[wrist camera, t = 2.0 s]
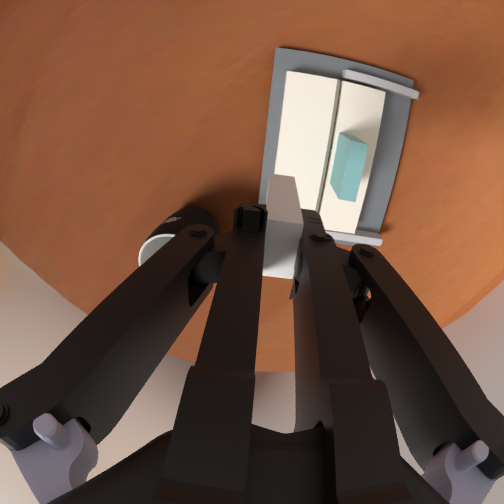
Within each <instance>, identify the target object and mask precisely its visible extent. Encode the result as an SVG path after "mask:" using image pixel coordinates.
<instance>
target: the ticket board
mask: <svg viewBox="0 0 504 504" xmlns="http://www.w3.org/2000/svg"><path fill="white" fill-rule="evenodd" d="M340 81H346V82H350V83H354V84H358V85H362V86H366V87H370V88H373V89H377V90H380V91H384V92H386V93H385V100H384V106H383V112H382V118H381V123H380V129H379V134H378V139H377V144H376V149H375V154H374V159H373V163H372V168H371V172H370V176H369V181H368V185H367V189H366V193H365V197H364V201H363V205H362V208H361V212H360V216H359V219H358V223H357V227H356V230H355V234H352V233H346V232H339V231H332V230H325V232H326V233H328V234H329V235H331V236H332V237H333V239H334V241H335V243H337V244H345V245H352V246H353V245H355V244H368V245H371V246H372V247H374V246H375V245H377V246H381V243H382V241H383V239H382V238H381V236H380V234H379V231H380V228H381V225H382V222H383V219H384V215H385V212H386V209H387V205H388V202H389V198H390V194H391V191H392V187H393V183H394V180H395V176H396V172H397V168H398V163H399V159H400V155H401V150H402V146H403V141H404V136H405V131H406V126H407V121H408V115H409V110H410V104H411V99H418V94H419V92H418V91H416V90H413V83H414V80H411V79H409V78H406V77H403V76H400V75H397V74H394V73H391V72H388V71H385V70H382V69H379V68H375V67H372V66H369V65H365V64H361V63H357V62H354V61H350V60H345V59H341V58H337V57H332V56H327V55H322V54H317V53H311V52H305V51H299V50H292V49H284V48H276V49H275V58H274V67H273V76H272V85H271V94H270V103H269V112H268V121H267V130H266V139H265V148H264V157H263V166H262V175H261V183H260V192H259V201H258V204H265V205H266V198H267V190H268V182H269V174H278V175H286V176H293V177H295V182H296V187H297V192H298V197H299V202H300V207H301V208H302V209H309V210H315V211H316V212H317V213H318V209H319V204H320V199H321V194H322V189H323V184H324V179H325V173H326V168H327V163H328V157H329V151H330V146H331V140H332V134H333V128H334V122H335V115H336V109H337V102H338V95H339V88H340Z"/></svg>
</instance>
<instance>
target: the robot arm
mask: <svg viewBox="0 0 504 504" xmlns="http://www.w3.org/2000/svg"><path fill="white" fill-rule="evenodd" d="M293 273H295V277H294V281H293V285H292V290H291V294H290V298H289V299H292V297H293V309H294V336H295V380H296V423H295V429H294V433H288V434H284V433H280V432H276V431H272V430H269V429H266V428H263V427H260V426H257V425H254V424H251V421H252V409H253V399H254V388H255V375H254V371H255V359H256V347H257V336H258V324H259V312H260V299H261V287H262V275H263V276H271V277H279V278H288V279H292V278H293ZM213 283H217V286H216V290H215V293H214V297H213V300H212V304H211V308H210V311H209V315H208V319H207V322H206V326H205V330H204V334H203V337H202V341H201V345H200V349H199V352H198V356H197V360H196V363H195V365H194V366H191V367H190V369H189V371H188V374H187V377H186V381H185V385H184V388H183V392H182V396H181V400H180V404H179V407H178V411H177V415H176V419H175V423H174V427H173V430H170V431H168V432H166V433H164V434H162V435H160V436H158V437H156V438H155V439H153V440H152V441H150V442H149V443H147V444H146V445H145V446H143V447H142V448H140V449H138V450H137V451H136V452H134V453H132V454H131V455H129V456H128V457H126V458H125V459H123V460H122V461H120V462H119V463H117V464H115V465H114V466H112V467H111V468H109V469H107V470H106V471H104V472H102V473H101V474H99V475H97V476H96V477H94V478H92V479H90V480H89V481H87V482H86V478H87V476H88V473H89V472H90V471H91V470H92V469H93V468H94V467H95V466H96V464H97V460H98V449H97V444H99V443H100V442H101V441H102V440H103V439H104V438H105V437H106V436H107V435H108V434H109V433H110V432H111V431H112V429H113V428H114V427H115V426H116V424H117V423H118V422H119V421H120V419H121V418H122V416H123V415H124V413H125V412H126V411H127V409H128V408H129V406H130V405H131V403H132V402H133V400H134V399H135V397H136V396H137V394H138V393H139V392H140V390H141V389H142V387H143V386H144V385H145V383H146V382H147V380H148V379H149V377H150V376H151V374H152V373H153V372H154V370H155V368H156V367H157V366H158V364H159V363H160V362H161V360H162V359H163V357H164V356H165V354H166V353H167V352H168V350H169V349H170V347H171V346H172V345H173V343H174V342H175V340H176V339H177V337H178V336H179V335H180V333H181V332H182V330H183V329H184V327H185V326H186V325H187V323H188V322H189V320H190V319H191V318H192V316H193V315H194V313H195V312H196V311H197V309H198V308H199V306H200V305H201V304H202V302H203V301H204V299H205V298H206V297H207V295H208V294H209V292H210V291H211V290H212V288H213ZM369 290H370V292H371V299H369V298H368V296H367V293H368V291H369ZM369 365H370V366H369ZM370 367H371V369H372V371H373V373H374V375H375V377H376V379H377V380H375V379H373V377H372V374H371V371H370ZM393 415H394V417H395V420H396V422H397V424H398V426H399V428H400V431H401V433H402V435H403V437H404V440H405V442H406V444H407V446H408V447H409V450H410V452H411V454H412V455H413V457H414V458H415V460H416V462H417V463H418V464H419V466H420V467H421V468H422V469H423V471H424V474H423V475H421V476H420V475H419V474H418V473H417V472H416V471H415V470H414V469H413V468H412V467H411V466H410V465H409V464H408V463H407V462H406V461H405V460H404V459H403V458H402V457H401V456H400V452H399V446H398V439H397V434H396V428H395V423H394V418H393ZM0 442H1V443H2V444H3V445H5V446H6V447H7V448H8V449H9V450H10V451H11V453H12V454H13V457H14V459H15V461H16V463H17V465H18V467H19V469H20V471H21V473H22V474H23V476H24V478H25V480H26V482H27V483H28V485H29V487H30V489H31V490H32V492H33V493H34V495H35V497H36V498H37V500H38V502H39V503H40V504H482V502H483V500H484V499H485V497H486V496H487V494H488V493H489V491H490V489H491V488H492V486H493V484H494V482H495V481H496V480H497V479H498V478H500V477H502V476H503V475H504V416H503V415H502V414H501V413H500V412H499V411H498V410H497V409H496V408H495V407H494V406H493V405H492V403H491V402H489V400H488V399H487V398H486V396H485V394H484V393H483V391H482V389H481V388H480V386H479V384H478V383H477V381H476V380H475V378H474V376H473V375H472V373H471V371H470V370H469V368H468V367H467V365H466V364H465V362H464V361H463V359H462V358H461V356H460V355H459V353H458V352H457V350H456V349H455V347H454V346H453V345H452V343H451V342H450V340H449V339H448V337H447V336H446V335H445V333H444V332H443V330H442V329H441V328H440V326H439V325H438V323H437V322H436V321H435V319H434V318H433V317H432V315H431V314H430V313H429V311H428V310H427V309H426V308H425V306H424V305H423V304H422V302H421V301H420V300H419V299H418V297H417V296H416V295H415V294H414V292H413V291H412V290H411V289H410V287H409V286H408V285H407V284H406V282H405V281H404V280H403V279H402V278H401V276H400V275H399V274H398V273H397V272H396V270H395V269H394V268H393V267H392V266H391V265H390V263H389V262H388V261H387V260H386V259H385V258H384V256H383V255H382V254H381V253H380V252H379V251H378V250H377V249H375V248H374V247H372V246H371V245H368V244H355V245H353V246H352V249H351V251H348V250H345V249H342V248H339V247H337V246H336V244H335V241H334V239H333V237H332V236H331V235H329V234H328V233H326V232H325V229H324V225H323V222H322V219H321V216H320V214H318V213H317V212H316V211H315V210H309V209H302V208H301V207H300V202H299V197H298V192H297V187H296V182H295V177H293V176H286V175H278V174H269V182H268V190H267V198H266V205H265V204H257V203H249V202H247V203H246V204H241V205H238V206H237V207H236V208H235V213H234V227H233V230H232V232H230V233H226V234H220V235H215V232H214V229H213V228H211V227H210V226H207V225H202V224H193V225H189V226H187V227H185V228H183V229H182V230H181V231H180V232H179V233H177V234H176V235H175V236H174V237H173V238H171V239H170V240H169V241H168V242H167V243H166V244H165V245H163V246H162V247H161V248H160V249H159V250H158V251H157V252H155V253H154V254H153V255H152V256H151V257H150V258H149V259H147V260H146V261H145V262H144V263H143V264H142V265H141V266H140V267H139V268H137V269H136V270H135V271H134V272H133V273H132V274H131V275H130V276H129V277H128V278H127V279H125V280H124V281H123V282H122V283H121V284H120V285H119V286H118V287H117V288H116V289H115V290H114V291H113V292H112V293H111V294H109V295H108V296H107V297H106V298H105V299H104V300H103V301H102V302H101V303H100V304H99V305H98V306H97V307H96V308H95V309H94V310H93V311H92V312H91V313H90V314H89V315H88V316H87V317H86V318H85V319H84V320H83V321H82V322H81V323H80V324H79V325H78V326H77V327H76V328H75V329H74V330H73V331H72V332H71V333H70V334H69V335H68V336H67V337H66V338H65V339H64V340H63V341H62V342H61V343H60V344H59V346H57V348H56V349H55V350H54V351H53V352H52V353H51V354H50V355H49V356H48V357H47V358H46V359H45V360H44V362H43V363H42V364H40V365H38V366H36V367H35V368H33V369H31V370H30V371H28V372H26V373H25V374H23V375H21V376H20V377H18V378H16V379H15V380H13V381H11V382H10V383H8V384H6V385H5V386H3V387H1V388H0Z"/></svg>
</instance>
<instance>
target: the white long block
mask: <svg viewBox="0 0 504 504" xmlns="http://www.w3.org/2000/svg"><path fill="white" fill-rule="evenodd" d="M385 93H386V92H384V91H380V90H377V89H373V88H370V87H366V86H362V85H358V84H354V83H350V82H346V81H340V88H339V95H338V102H337V109H336V115H335V122H334V128H333V134H332V140H331V146H330V151H329V157H328V163H327V168H326V173H325V179H324V184H323V189H322V194H321V199H320V204H319V209H318V214H320V216H321V219H322V222H323V225H324V229H325V230H332V231H339V232H346V233H352V234H355V230H356V227H357V223H358V219H359V216H360V212H361V208H362V205H363V201H364V197H365V193H366V189H367V185H368V181H369V176H370V172H371V168H372V163H373V159H374V154H375V149H376V144H377V139H378V134H379V129H380V123H381V118H382V112H383V106H384V100H385Z"/></svg>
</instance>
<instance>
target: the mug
mask: <svg viewBox="0 0 504 504" xmlns="http://www.w3.org/2000/svg"><path fill="white" fill-rule="evenodd" d="M193 224H202V225H207V226H210V227H211V228H213V229H214V232H215V235H219V229H218V225H217V223H216V221H215V219H214V218H213V217H212V216H211V215H210V214H209V213H208V212H207V211H205V210H203V209H200V208H195V207H189V208H184V209H181V210H179V211H177V212H175V213H174V214H172V215H171V216H169V217H168V218H167V219H166V220H165V221H163V222H162V223H161V224H160V225H159V226H158V227H157V228H156V229H155V230H154V231H153V232H152V233H151V235H150V236H149V237H148V238H147V239H146V241H145V242H144V244H143V245H142V247H141V249H140V252H139V266H141V265H142V264H143V263H144V262H145V261H146V260H147V259H149V258H150V257H151V256H152V255H153V254H154V253H155V252H157V251H158V250H159V249H160V248H161V247H162V246H163V245H165V244H166V243H167V242H168V241H169V240H170V239H171V238H173V237H174V236H175V235H176V234H177V233H179V232H180V231H181V230H182V229H183V228H185V227H187V226H189V225H193Z"/></svg>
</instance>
